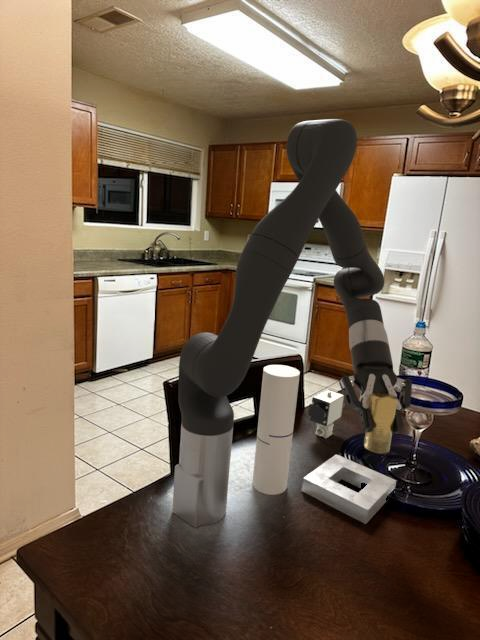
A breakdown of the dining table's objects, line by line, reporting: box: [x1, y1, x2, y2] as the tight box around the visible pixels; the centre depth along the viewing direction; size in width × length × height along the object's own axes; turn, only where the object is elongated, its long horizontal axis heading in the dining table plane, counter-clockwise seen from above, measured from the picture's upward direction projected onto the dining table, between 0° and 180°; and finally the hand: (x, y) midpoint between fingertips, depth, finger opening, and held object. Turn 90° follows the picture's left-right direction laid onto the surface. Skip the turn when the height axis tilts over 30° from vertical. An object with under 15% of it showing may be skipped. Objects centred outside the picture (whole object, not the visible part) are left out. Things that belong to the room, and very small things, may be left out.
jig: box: [301, 454, 397, 525], centre depth 91 cm, size 14×14×3 cm
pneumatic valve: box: [307, 389, 346, 439], centre depth 115 cm, size 6×12×12 cm, turn 141°
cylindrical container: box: [252, 364, 301, 496], centre depth 89 cm, size 7×7×25 cm
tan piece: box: [363, 392, 399, 454], centre depth 81 cm, size 5×5×10 cm
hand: (383, 431), depth 79 cm, fingers closed on tan piece, 4 cm apart
